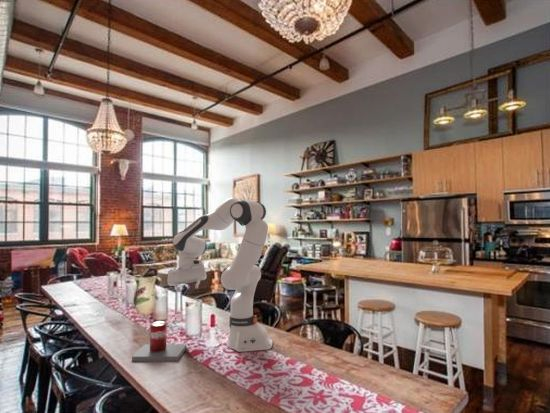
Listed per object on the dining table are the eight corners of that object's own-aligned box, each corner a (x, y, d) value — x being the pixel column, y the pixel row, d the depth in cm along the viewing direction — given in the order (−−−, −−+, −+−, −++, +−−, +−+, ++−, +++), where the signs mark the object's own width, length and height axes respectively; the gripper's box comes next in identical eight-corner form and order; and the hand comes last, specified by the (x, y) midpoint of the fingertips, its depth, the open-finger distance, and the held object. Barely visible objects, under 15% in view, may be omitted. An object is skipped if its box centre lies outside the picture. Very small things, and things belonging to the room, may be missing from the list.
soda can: (149, 348, 151) (150, 322, 151) (166, 346, 153) (166, 320, 154) (149, 354, 144) (149, 326, 144) (166, 352, 146) (166, 325, 147)
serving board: (186, 348, 155) (186, 344, 155) (177, 361, 141) (177, 356, 141) (144, 348, 155) (144, 344, 155) (131, 361, 141) (132, 356, 141)
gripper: (165, 267, 173) (165, 290, 164) (204, 260, 175) (205, 283, 166) (169, 272, 178) (168, 296, 169) (206, 265, 180) (208, 288, 171)
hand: (187, 289), depth 168 cm, fingers open, 8 cm apart
